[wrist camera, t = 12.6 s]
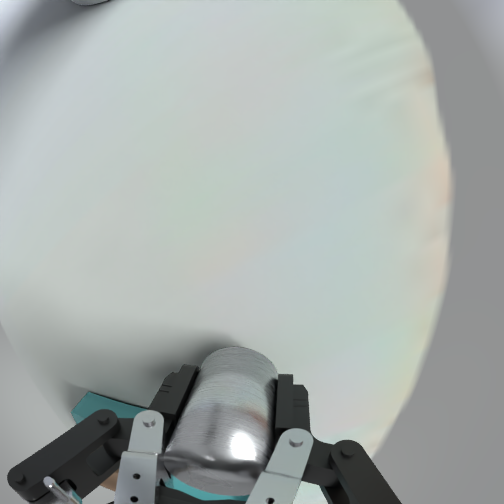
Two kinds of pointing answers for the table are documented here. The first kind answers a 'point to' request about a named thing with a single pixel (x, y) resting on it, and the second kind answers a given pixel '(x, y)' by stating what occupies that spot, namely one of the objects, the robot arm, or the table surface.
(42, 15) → the table surface
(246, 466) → the metal cylinder
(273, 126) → the table surface
